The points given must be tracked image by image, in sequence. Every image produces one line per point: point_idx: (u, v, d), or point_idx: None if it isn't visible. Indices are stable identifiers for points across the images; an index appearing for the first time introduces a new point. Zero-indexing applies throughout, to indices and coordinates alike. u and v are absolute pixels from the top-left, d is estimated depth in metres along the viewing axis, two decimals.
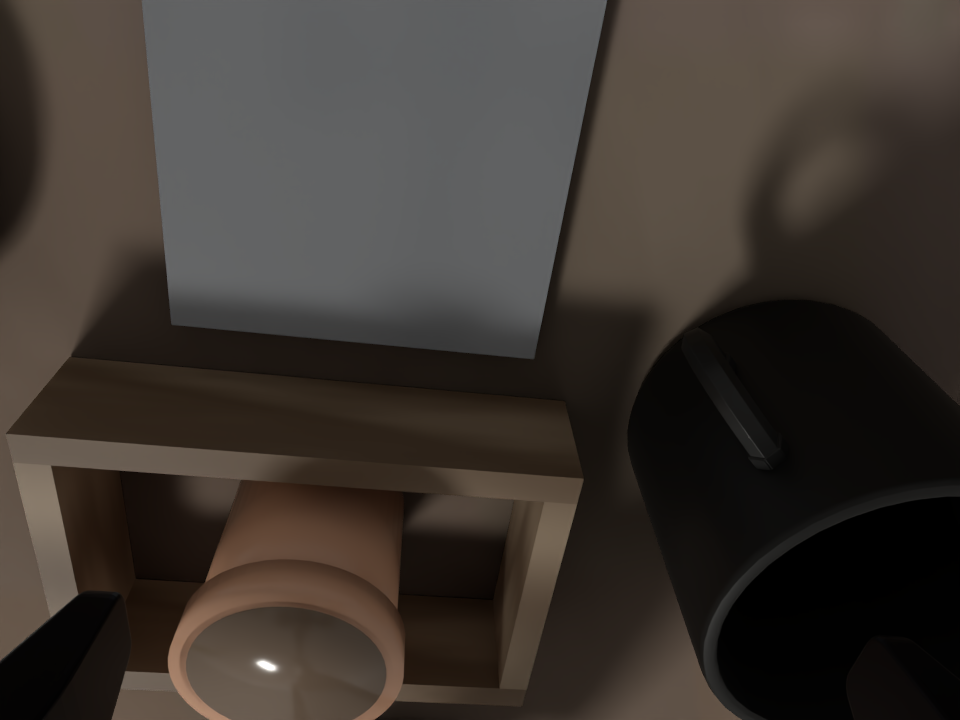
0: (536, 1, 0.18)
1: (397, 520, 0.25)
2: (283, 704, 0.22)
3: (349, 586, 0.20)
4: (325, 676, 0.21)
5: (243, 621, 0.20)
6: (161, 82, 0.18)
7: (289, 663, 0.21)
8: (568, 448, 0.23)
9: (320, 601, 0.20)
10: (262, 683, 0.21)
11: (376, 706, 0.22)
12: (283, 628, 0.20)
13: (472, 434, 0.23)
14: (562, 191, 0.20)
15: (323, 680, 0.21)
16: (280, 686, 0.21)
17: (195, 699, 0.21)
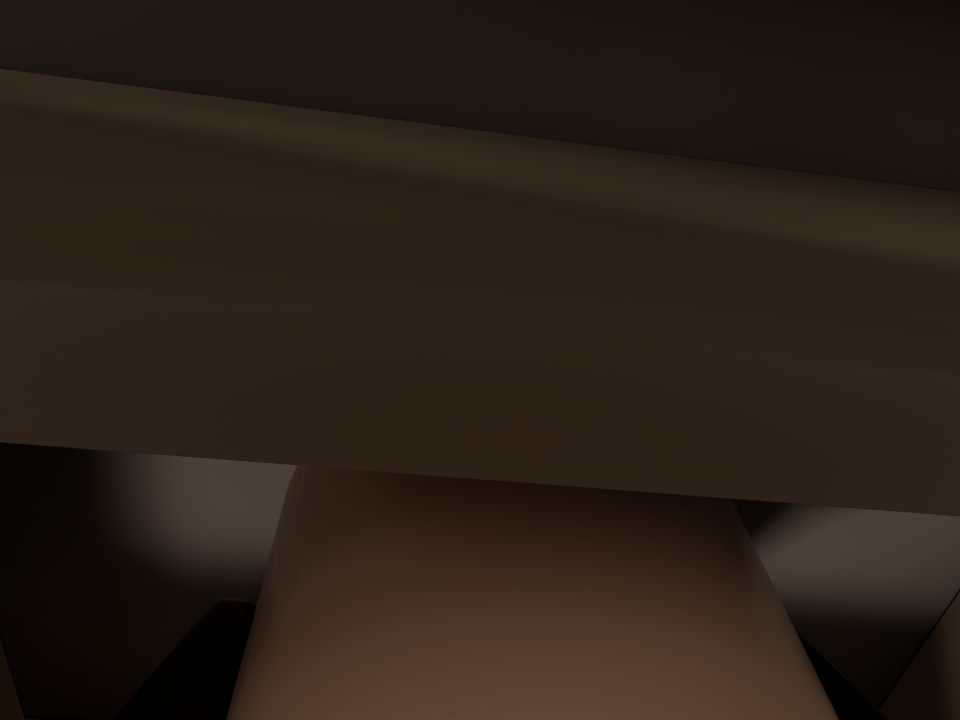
0: None
1: None
2: None
3: None
4: None
5: None
6: None
7: None
8: None
9: None
10: None
11: None
12: None
13: None
14: None
15: None
16: None
17: None
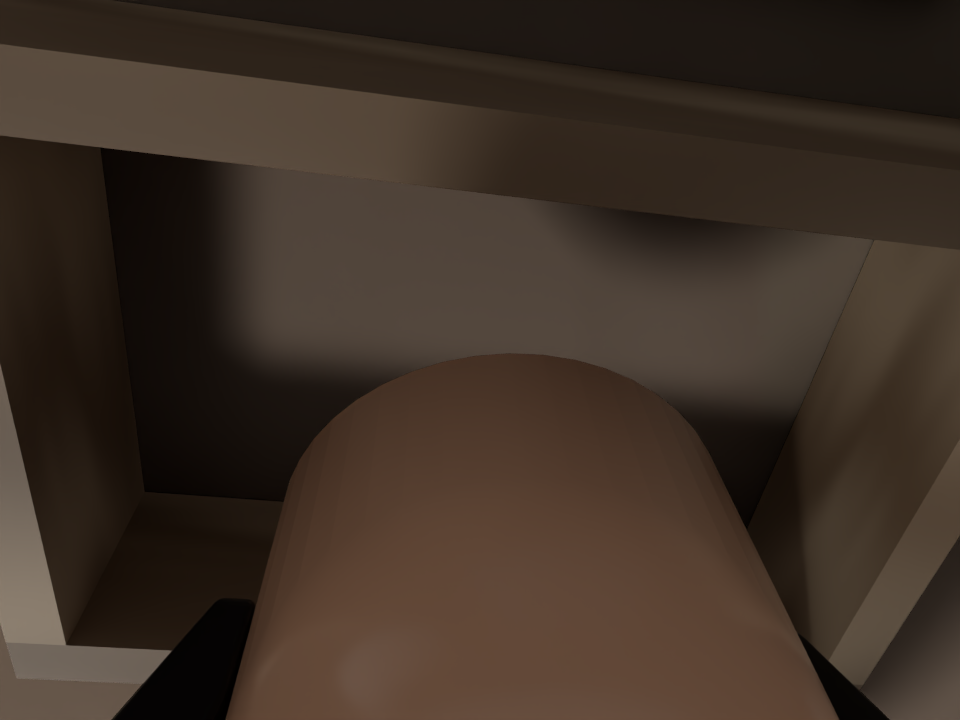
0: None
1: None
2: None
3: None
4: None
5: None
6: None
7: None
8: None
9: None
10: None
11: None
12: None
13: (875, 132, 0.11)
14: None
15: None
16: None
17: None
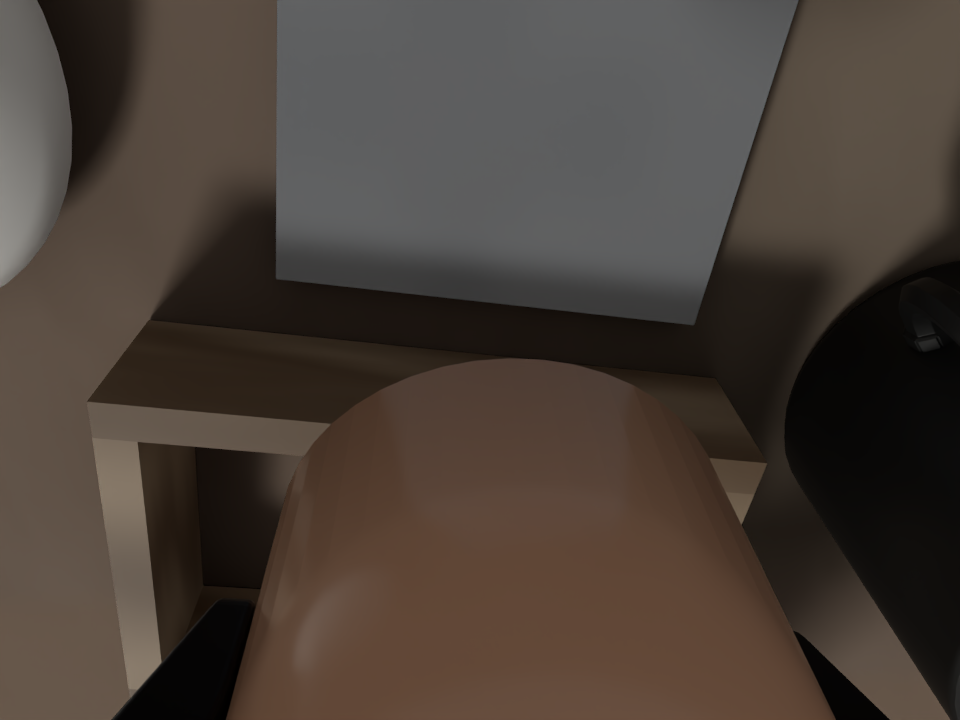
0: None
1: None
2: None
3: None
4: None
5: None
6: None
7: None
8: (737, 429, 0.19)
9: None
10: None
11: None
12: None
13: None
14: (754, 117, 0.17)
15: None
16: None
17: None
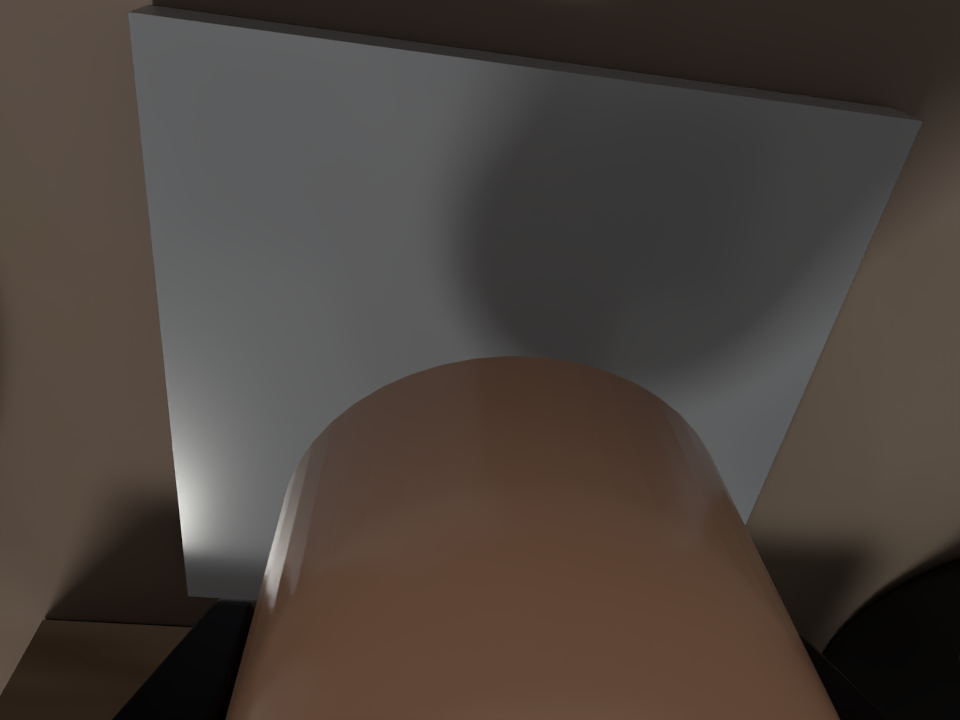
0: (787, 174, 0.11)
1: None
2: None
3: None
4: None
5: None
6: (176, 294, 0.12)
7: None
8: None
9: None
10: None
11: None
12: None
13: None
14: (779, 428, 0.13)
15: None
16: None
17: None
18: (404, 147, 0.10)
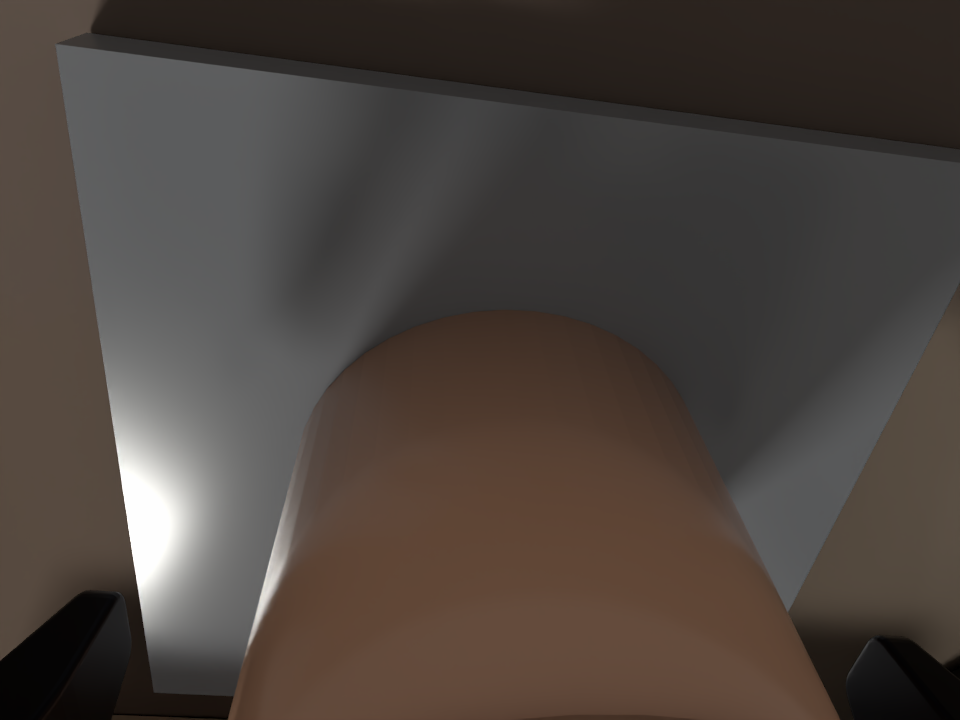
0: (853, 232, 0.09)
1: None
2: None
3: None
4: None
5: None
6: (128, 370, 0.10)
7: None
8: None
9: None
10: None
11: None
12: None
13: None
14: (830, 512, 0.12)
15: None
16: None
17: None
18: (396, 203, 0.09)
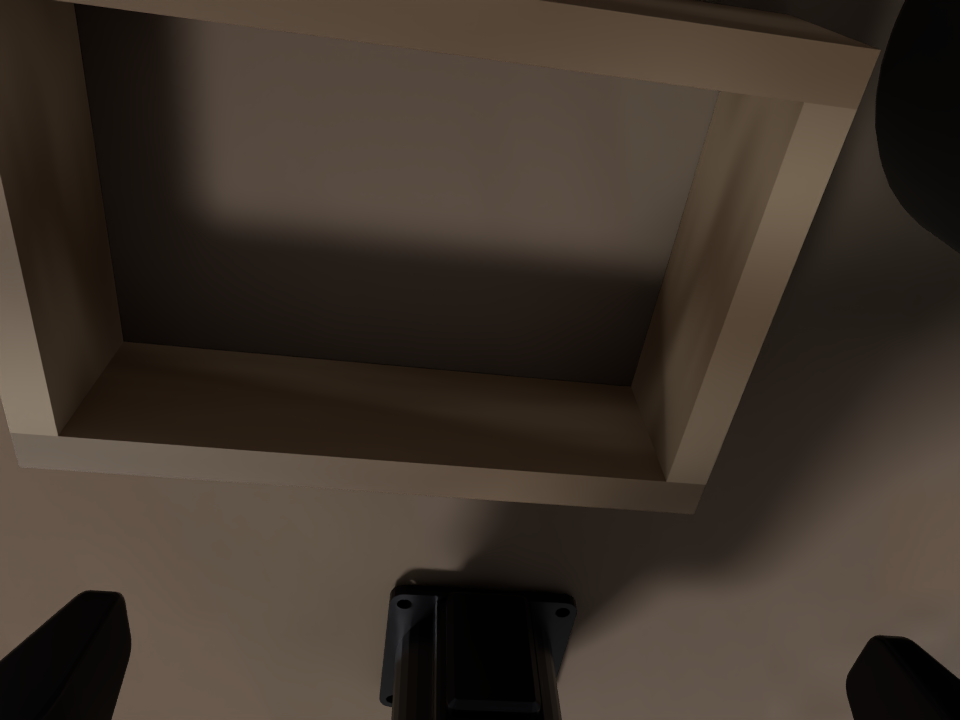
0: None
1: None
2: None
3: None
4: None
5: None
6: None
7: None
8: (830, 33, 0.14)
9: None
10: None
11: None
12: None
13: (672, 8, 0.14)
14: None
15: None
16: None
17: None
18: None
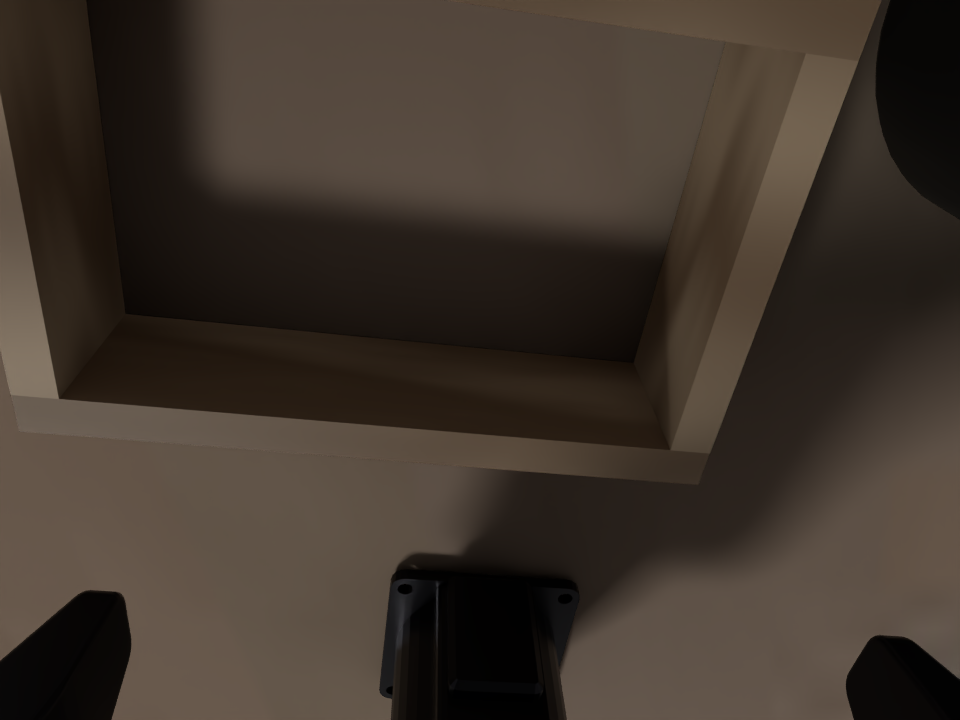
0: None
1: None
2: None
3: None
4: None
5: None
6: None
7: None
8: None
9: None
10: None
11: None
12: None
13: None
14: None
15: None
16: None
17: None
18: None
